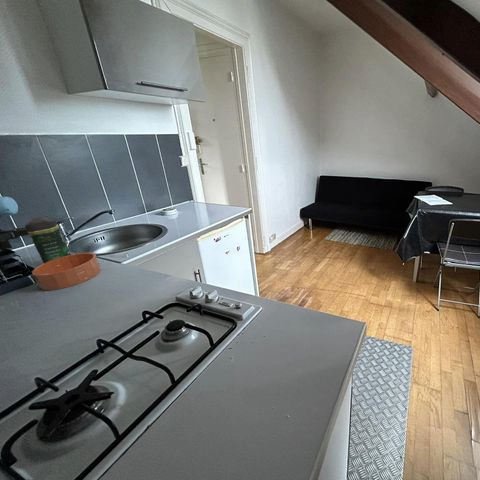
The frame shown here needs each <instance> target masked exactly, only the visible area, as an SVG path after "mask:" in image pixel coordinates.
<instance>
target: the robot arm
mask: <svg viewBox="0 0 480 480" xmlns="http://www.w3.org/2000/svg"><path fill="white" fill-rule="evenodd" d="M18 212H19V205H18V203H17V202H16V200H15V199H14V198H12V197H10V196H0V218H5V217H10V216H14V215H16V214H17V213H18ZM24 236H30V235H29V234H28V232H27V230H26V227H25V226H24V227H14V228H12V229H8V230H4V229H0V249H12V248H13V246H12V244H11V243H10V240H15V239H19V237H24Z"/></svg>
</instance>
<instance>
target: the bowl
mask: <svg viewBox="0 0 480 480" xmlns="http://www.w3.org/2000/svg"><path fill="white" fill-rule="evenodd" d="M101 271H102V266H101V263H100V261H99V260H98V256H97V255H96V253H95V252H94V253H93V252H80V253H74V254H73V253H72V254H71V255H68V256H64V257H60V258H57V259H54V260H51V261H49V262H46V263H42V264H40V265H38V266H37V267H35V268H34V269H32V271H31V274H32V276H33V278H34V280H35V281H36V284H37V285H38V287H39V288H40V289H41V290H43V291H55V290H61V289H62V290H63V289H66V288H69V287H74V286H76V285H79V284H81V283H84V282H86V281H88V280H90V279H92V278H95V277H96V276H98V274H100V273H101Z"/></svg>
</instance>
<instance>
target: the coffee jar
mask: <svg viewBox="0 0 480 480" xmlns="http://www.w3.org/2000/svg"><path fill="white" fill-rule="evenodd" d="M24 227H26V230H27V232H28V234H29V235H28V236H29V237H30V239H31V241H32V243H33V245H34V247H35V249H36V251H37V253H38V255H39V257H40V259H41V261H42V264H44V263H46V262H49V261H51V260H54V259H57V258H60V257H64V256H68V255H72V253H71V251H70V249H69V246H68V244H67V241H66V239H65V237H64V235H63V234H62V231H61V229H60V226H59V225H58V223H57V221H56V218H55V217H51V216H48V215H44V216H38V217H33V218H32V219H31V220H29V221H27V222H26V223H25V224H24Z"/></svg>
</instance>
